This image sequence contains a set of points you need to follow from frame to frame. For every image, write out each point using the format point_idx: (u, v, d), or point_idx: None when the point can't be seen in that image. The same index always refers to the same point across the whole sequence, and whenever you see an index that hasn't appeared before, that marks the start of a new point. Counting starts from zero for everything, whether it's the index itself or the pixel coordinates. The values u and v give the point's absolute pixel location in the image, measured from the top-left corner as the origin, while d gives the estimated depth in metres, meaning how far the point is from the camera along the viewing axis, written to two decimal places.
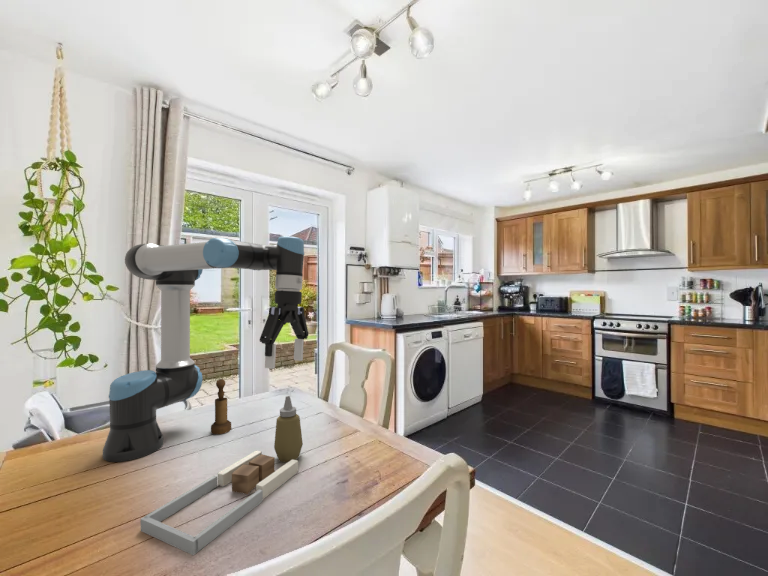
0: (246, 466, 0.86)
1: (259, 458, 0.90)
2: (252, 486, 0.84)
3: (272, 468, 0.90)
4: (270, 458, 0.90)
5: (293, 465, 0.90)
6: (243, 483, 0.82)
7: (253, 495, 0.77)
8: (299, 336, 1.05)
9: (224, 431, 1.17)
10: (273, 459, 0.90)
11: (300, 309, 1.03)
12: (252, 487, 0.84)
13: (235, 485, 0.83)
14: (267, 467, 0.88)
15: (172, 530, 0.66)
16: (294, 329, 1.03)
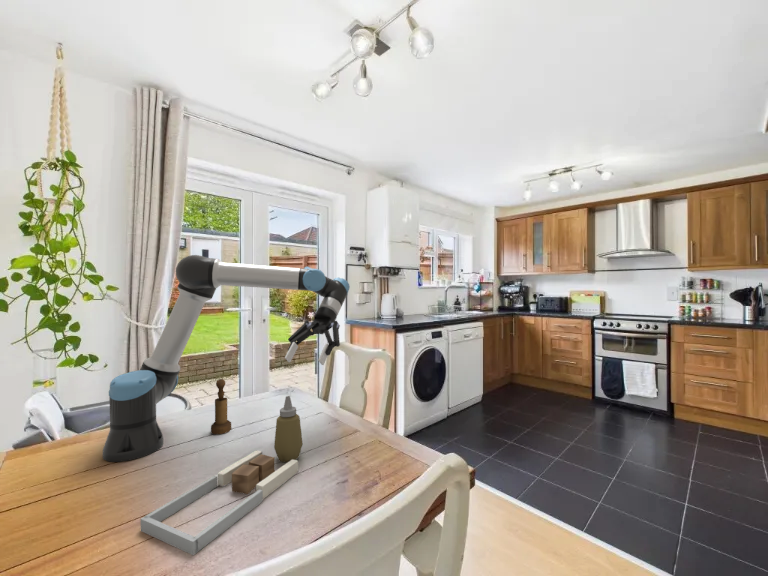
0: (246, 466, 0.86)
1: (259, 458, 0.90)
2: (252, 486, 0.84)
3: (272, 468, 0.90)
4: (270, 458, 0.90)
5: (293, 465, 0.90)
6: (243, 483, 0.82)
7: (253, 495, 0.77)
8: (295, 342, 1.20)
9: (224, 431, 1.17)
10: (273, 459, 0.90)
11: None
12: (252, 487, 0.84)
13: (235, 485, 0.83)
14: (267, 467, 0.88)
15: (172, 530, 0.66)
16: (302, 336, 1.20)
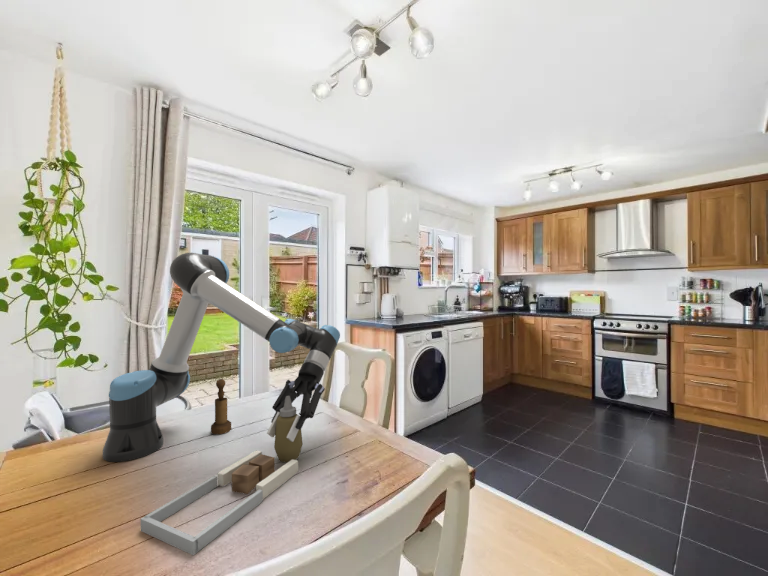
0: (246, 466, 0.86)
1: (259, 458, 0.90)
2: (252, 486, 0.84)
3: (272, 468, 0.90)
4: (270, 458, 0.90)
5: (293, 465, 0.90)
6: (243, 483, 0.82)
7: (253, 495, 0.77)
8: None
9: (224, 431, 1.17)
10: (273, 459, 0.90)
11: None
12: (252, 487, 0.84)
13: (235, 485, 0.83)
14: (267, 467, 0.88)
15: (172, 530, 0.66)
16: None
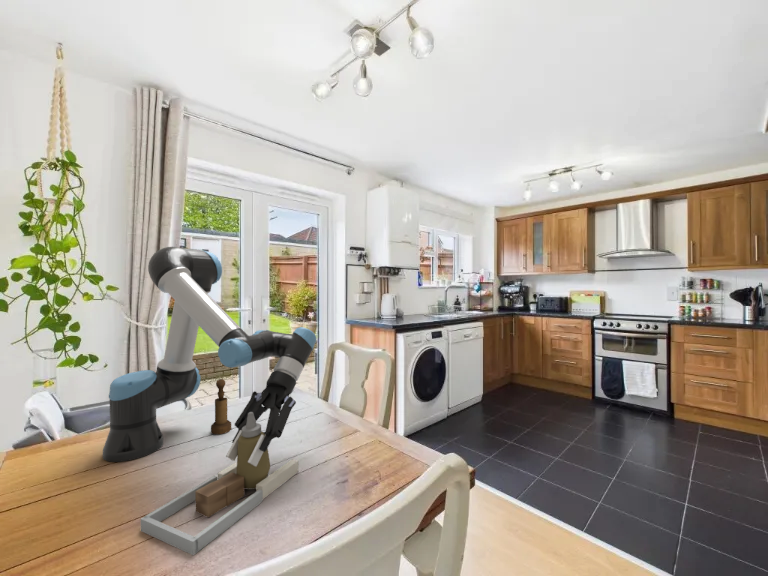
0: (214, 484, 0.78)
1: (227, 478, 0.81)
2: (215, 509, 0.75)
3: (240, 489, 0.80)
4: (239, 478, 0.81)
5: (293, 465, 0.90)
6: (204, 505, 0.74)
7: (253, 495, 0.77)
8: None
9: (224, 431, 1.17)
10: (242, 479, 0.81)
11: None
12: (215, 509, 0.75)
13: (198, 504, 0.75)
14: (234, 488, 0.79)
15: (172, 530, 0.66)
16: None
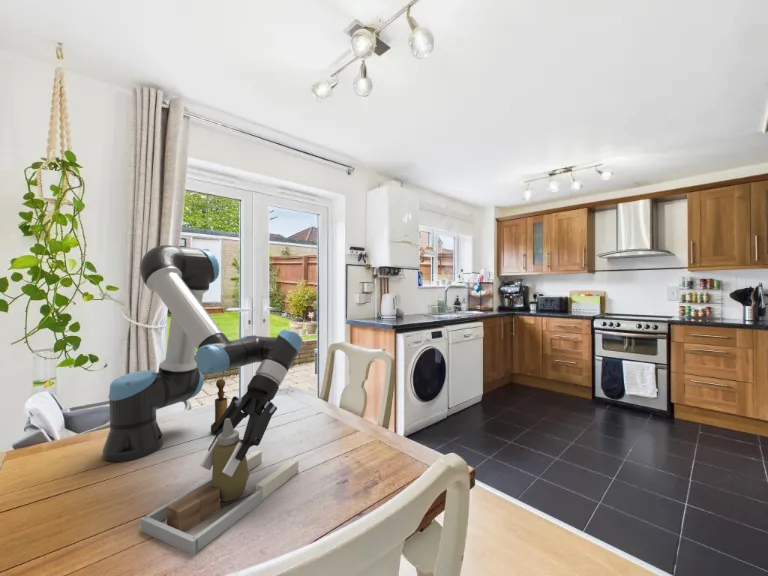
0: (188, 498, 0.73)
1: (202, 490, 0.76)
2: (188, 525, 0.70)
3: (216, 503, 0.75)
4: (214, 490, 0.76)
5: (293, 465, 0.90)
6: (176, 521, 0.69)
7: (253, 495, 0.77)
8: None
9: None
10: (218, 491, 0.76)
11: None
12: (188, 526, 0.70)
13: (169, 520, 0.70)
14: (208, 502, 0.74)
15: (172, 530, 0.66)
16: None
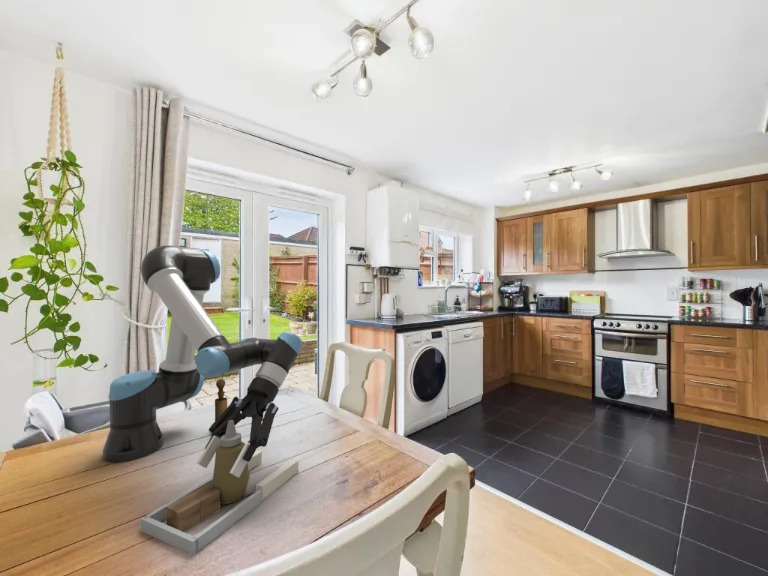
0: (188, 498, 0.73)
1: (202, 491, 0.76)
2: (187, 525, 0.70)
3: (215, 503, 0.75)
4: (214, 491, 0.76)
5: (293, 465, 0.90)
6: (175, 521, 0.69)
7: (253, 495, 0.77)
8: (218, 434, 0.84)
9: None
10: (218, 492, 0.76)
11: None
12: (187, 526, 0.70)
13: (169, 521, 0.70)
14: (208, 503, 0.74)
15: (172, 530, 0.66)
16: None
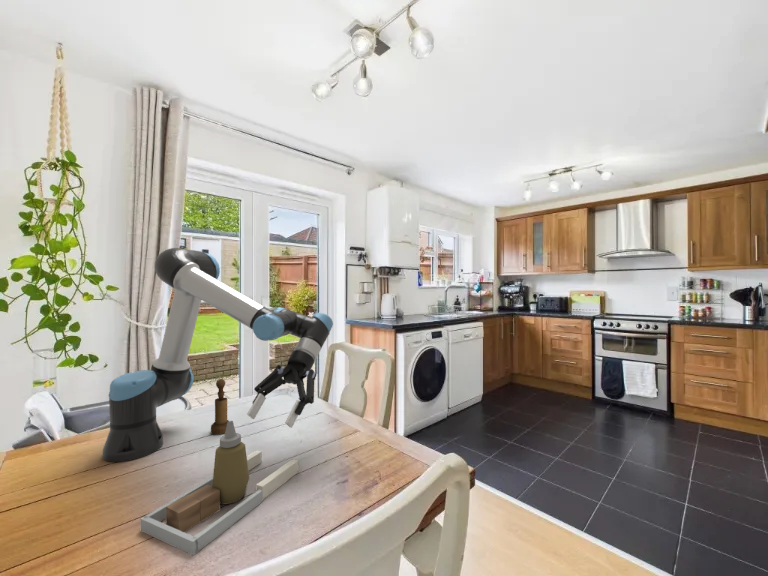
0: (188, 498, 0.73)
1: (202, 491, 0.76)
2: (187, 525, 0.70)
3: (215, 503, 0.75)
4: (214, 491, 0.76)
5: (293, 465, 0.90)
6: (175, 522, 0.69)
7: (253, 495, 0.77)
8: (262, 392, 1.00)
9: (224, 431, 1.17)
10: (218, 492, 0.76)
11: None
12: (187, 526, 0.70)
13: (169, 521, 0.70)
14: (208, 503, 0.74)
15: (172, 530, 0.66)
16: (271, 386, 1.00)
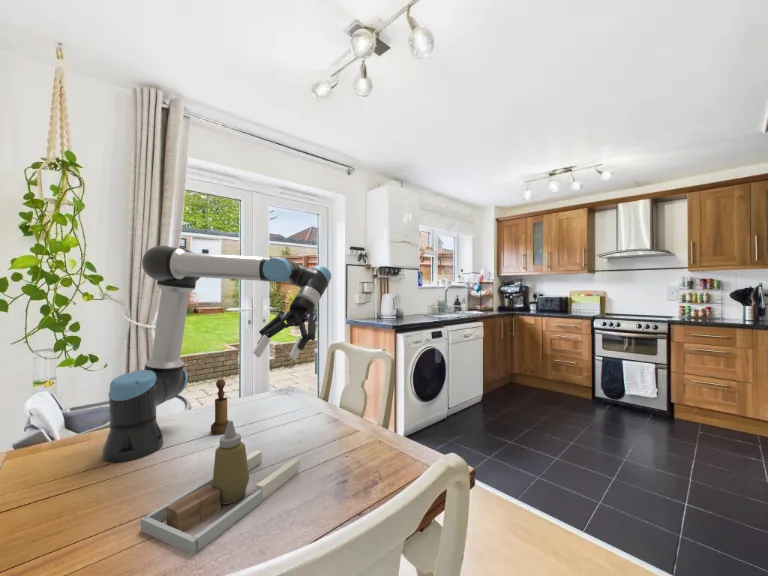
0: (188, 498, 0.73)
1: (202, 491, 0.76)
2: (187, 525, 0.70)
3: (215, 503, 0.75)
4: (214, 491, 0.76)
5: (293, 465, 0.90)
6: (175, 521, 0.69)
7: (253, 495, 0.77)
8: (267, 335, 1.07)
9: (224, 431, 1.17)
10: (218, 492, 0.76)
11: None
12: (187, 526, 0.70)
13: (169, 521, 0.70)
14: (208, 503, 0.74)
15: (172, 530, 0.66)
16: (275, 328, 1.07)
